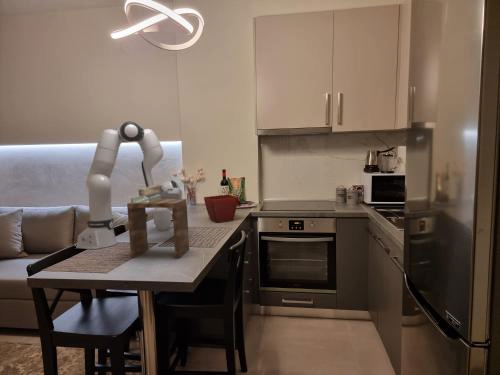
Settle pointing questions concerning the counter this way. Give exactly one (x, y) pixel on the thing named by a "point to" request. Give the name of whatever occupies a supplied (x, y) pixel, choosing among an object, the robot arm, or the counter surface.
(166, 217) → the mug
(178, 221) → the walnut shelf
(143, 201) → the sage channel
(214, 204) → the plant pot
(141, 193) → the batten
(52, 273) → the counter surface
